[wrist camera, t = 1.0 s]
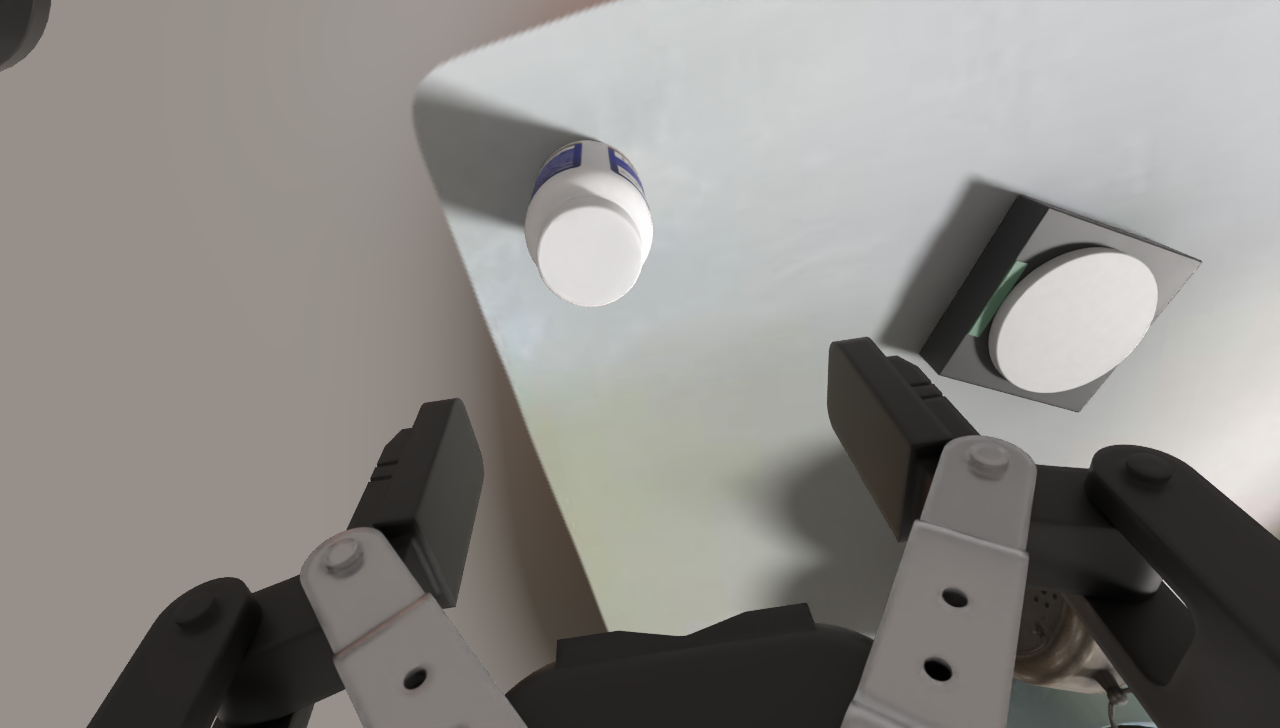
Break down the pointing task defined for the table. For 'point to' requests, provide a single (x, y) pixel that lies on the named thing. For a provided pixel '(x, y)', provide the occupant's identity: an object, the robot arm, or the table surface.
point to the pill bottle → (588, 224)
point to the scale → (1054, 305)
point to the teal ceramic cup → (1070, 709)
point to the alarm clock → (1063, 651)
